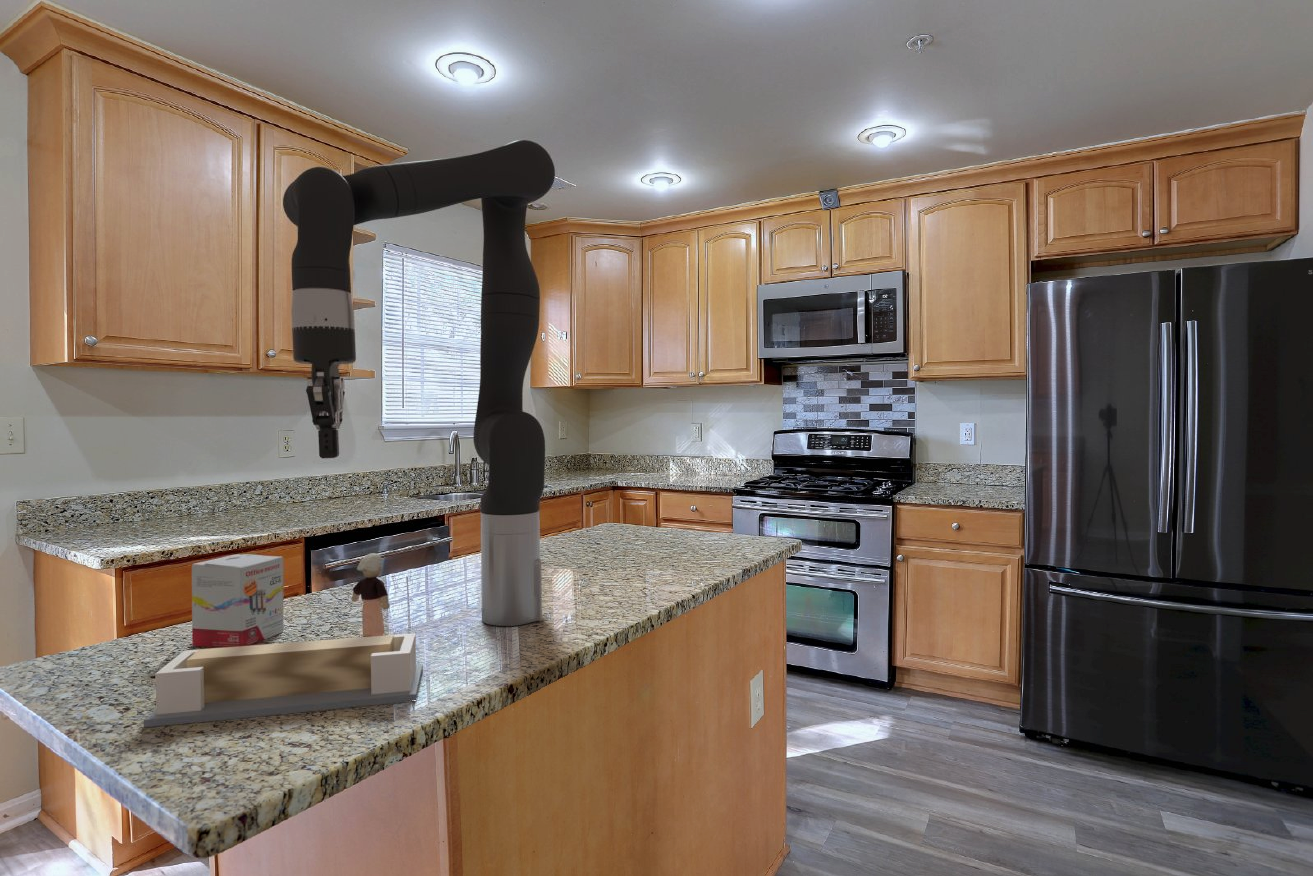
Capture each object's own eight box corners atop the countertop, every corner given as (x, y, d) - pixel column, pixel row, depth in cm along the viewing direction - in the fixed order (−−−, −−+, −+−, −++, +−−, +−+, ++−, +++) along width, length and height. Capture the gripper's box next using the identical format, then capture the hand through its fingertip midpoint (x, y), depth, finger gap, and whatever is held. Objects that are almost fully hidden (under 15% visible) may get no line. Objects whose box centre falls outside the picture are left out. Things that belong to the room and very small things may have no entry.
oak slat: (394, 675, 86) (393, 635, 86) (390, 686, 82) (390, 643, 82) (200, 692, 81) (199, 649, 80) (188, 704, 77) (186, 659, 77)
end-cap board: (422, 670, 90) (422, 630, 90) (415, 701, 80) (415, 655, 80) (182, 691, 83) (181, 647, 83) (143, 727, 73) (142, 678, 73)
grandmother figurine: (403, 639, 102) (402, 552, 102) (385, 647, 99) (383, 557, 98) (360, 634, 105) (359, 549, 104) (341, 641, 101) (339, 554, 101)
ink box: (242, 650, 98) (240, 565, 97) (190, 646, 100) (188, 563, 99) (286, 631, 106) (284, 553, 106) (237, 628, 108) (236, 551, 108)
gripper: (346, 321, 87) (352, 460, 88) (361, 332, 100) (366, 453, 101) (279, 320, 85) (286, 462, 86) (303, 332, 98) (309, 455, 99)
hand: (329, 457), depth 94 cm, fingers closed
